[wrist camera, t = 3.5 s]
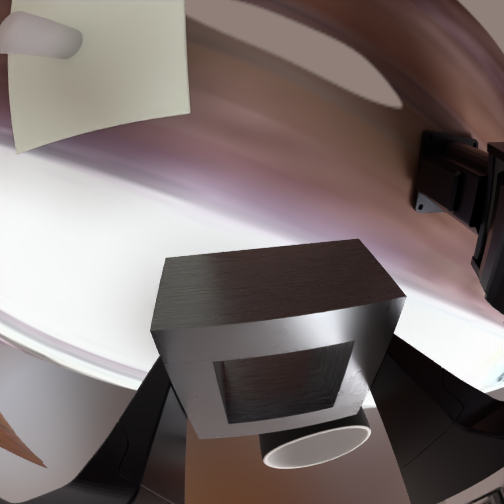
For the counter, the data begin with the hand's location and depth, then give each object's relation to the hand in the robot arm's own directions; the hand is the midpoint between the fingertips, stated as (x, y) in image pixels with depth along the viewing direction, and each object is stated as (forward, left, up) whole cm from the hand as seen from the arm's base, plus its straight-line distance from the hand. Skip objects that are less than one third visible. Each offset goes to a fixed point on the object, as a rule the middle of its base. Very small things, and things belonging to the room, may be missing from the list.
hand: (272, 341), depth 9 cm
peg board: (+9, -13, -11) cm, 19 cm away
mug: (-4, +17, -11) cm, 21 cm away
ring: (0, 0, -1) cm, 1 cm away
